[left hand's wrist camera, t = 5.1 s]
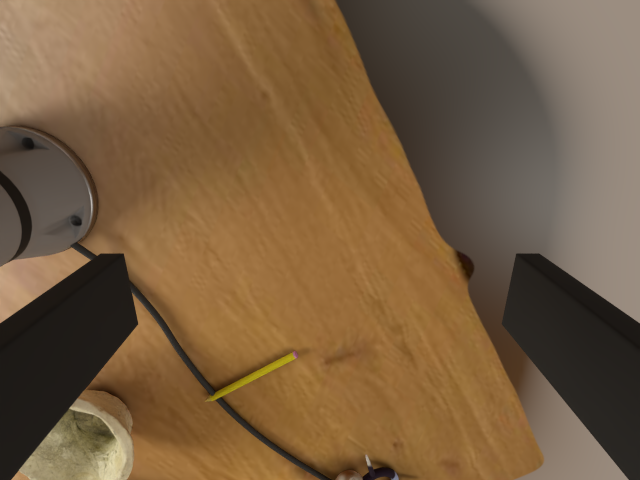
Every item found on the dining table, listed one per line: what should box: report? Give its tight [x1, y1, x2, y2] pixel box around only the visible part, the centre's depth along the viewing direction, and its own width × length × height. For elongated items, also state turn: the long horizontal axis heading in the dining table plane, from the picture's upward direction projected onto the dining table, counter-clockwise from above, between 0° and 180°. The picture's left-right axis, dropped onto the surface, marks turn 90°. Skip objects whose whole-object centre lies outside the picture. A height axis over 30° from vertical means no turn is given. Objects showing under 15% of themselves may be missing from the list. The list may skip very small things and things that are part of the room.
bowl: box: [19, 390, 134, 480], centre depth 50 cm, size 14×18×15 cm
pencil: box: [204, 351, 298, 402], centre depth 54 cm, size 16×1×1 cm, turn 122°
